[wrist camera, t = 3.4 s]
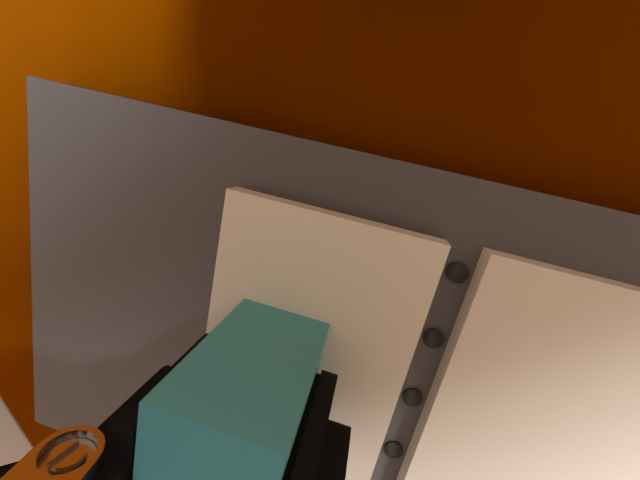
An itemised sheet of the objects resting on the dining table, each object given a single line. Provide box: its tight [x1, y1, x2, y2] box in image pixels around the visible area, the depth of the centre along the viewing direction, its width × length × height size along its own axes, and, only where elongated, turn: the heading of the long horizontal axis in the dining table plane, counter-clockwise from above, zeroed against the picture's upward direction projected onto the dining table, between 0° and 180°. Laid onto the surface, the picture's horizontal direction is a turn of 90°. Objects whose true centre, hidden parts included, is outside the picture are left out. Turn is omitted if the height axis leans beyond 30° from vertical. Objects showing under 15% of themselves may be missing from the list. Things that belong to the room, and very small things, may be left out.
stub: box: [133, 187, 451, 480], centre depth 9 cm, size 7×12×6 cm, turn 167°
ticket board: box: [26, 75, 640, 480], centre depth 13 cm, size 26×16×2 cm, turn 77°
